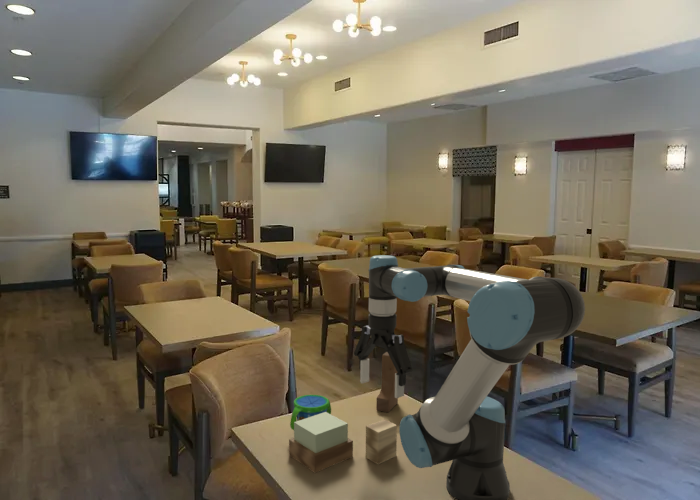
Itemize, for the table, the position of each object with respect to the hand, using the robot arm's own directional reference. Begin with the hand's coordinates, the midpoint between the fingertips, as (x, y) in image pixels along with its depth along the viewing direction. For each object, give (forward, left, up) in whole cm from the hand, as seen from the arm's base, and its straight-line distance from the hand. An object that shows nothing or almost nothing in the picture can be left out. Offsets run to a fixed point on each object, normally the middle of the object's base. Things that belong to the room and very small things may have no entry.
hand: (381, 389), depth 143 cm
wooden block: (+23, -25, -19) cm, 39 cm away
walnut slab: (+11, +13, -20) cm, 26 cm away
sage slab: (+11, +13, -15) cm, 22 cm away
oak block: (0, 0, -19) cm, 19 cm away
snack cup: (+24, +6, -20) cm, 31 cm away
